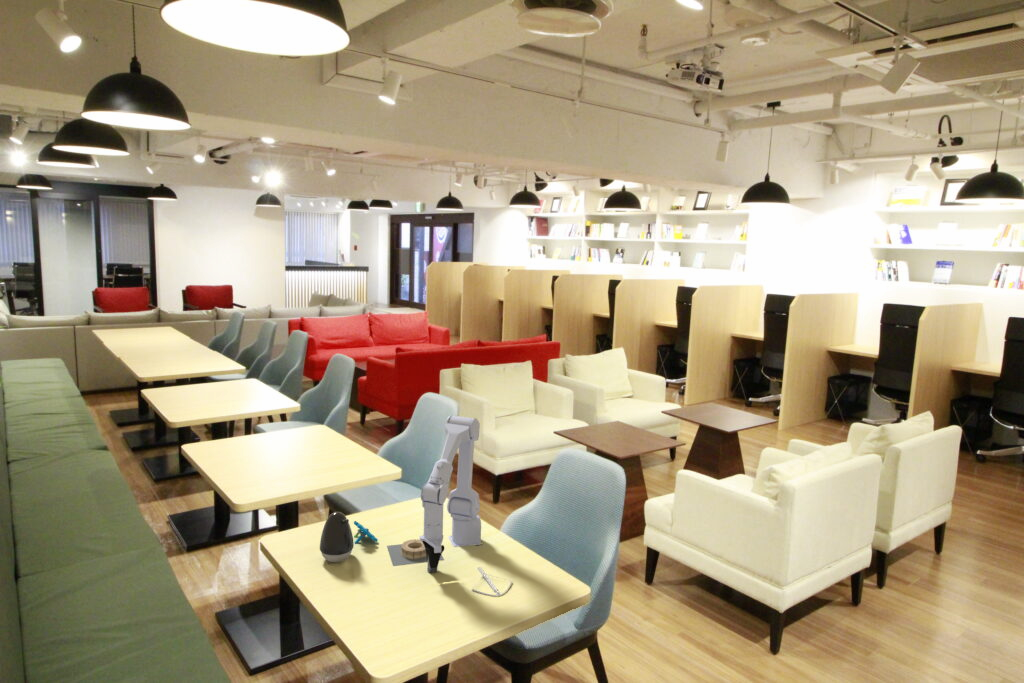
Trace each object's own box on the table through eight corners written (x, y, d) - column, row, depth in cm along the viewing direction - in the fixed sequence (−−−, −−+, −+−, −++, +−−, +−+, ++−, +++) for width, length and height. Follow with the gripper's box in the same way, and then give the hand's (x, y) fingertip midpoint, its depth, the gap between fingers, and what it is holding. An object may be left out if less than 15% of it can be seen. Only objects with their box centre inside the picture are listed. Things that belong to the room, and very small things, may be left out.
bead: (425, 545, 214) (425, 538, 213) (430, 557, 206) (430, 549, 205) (399, 548, 211) (399, 541, 211) (403, 560, 203) (403, 552, 203)
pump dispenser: (334, 569, 196) (334, 522, 194) (313, 559, 203) (312, 512, 200) (360, 558, 204) (361, 512, 202) (339, 548, 211) (339, 503, 208)
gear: (382, 542, 212) (360, 523, 209) (370, 557, 211) (347, 538, 207) (374, 532, 222) (352, 515, 219) (362, 547, 221) (340, 529, 217)
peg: (436, 567, 199) (436, 549, 198) (438, 572, 196) (438, 553, 195) (426, 568, 198) (426, 550, 197) (428, 573, 195) (428, 554, 194)
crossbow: (519, 596, 188) (519, 589, 188) (478, 604, 183) (478, 597, 183) (498, 567, 202) (498, 561, 202) (459, 574, 197) (460, 568, 197)
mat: (434, 542, 217) (434, 540, 217) (444, 561, 204) (444, 559, 204) (386, 547, 212) (386, 545, 212) (392, 567, 199) (393, 565, 199)
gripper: (415, 513, 200) (415, 555, 202) (424, 533, 187) (423, 578, 189) (438, 511, 203) (437, 552, 205) (448, 531, 189) (447, 575, 191)
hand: (432, 564), depth 197 cm, fingers closed on peg, 3 cm apart
